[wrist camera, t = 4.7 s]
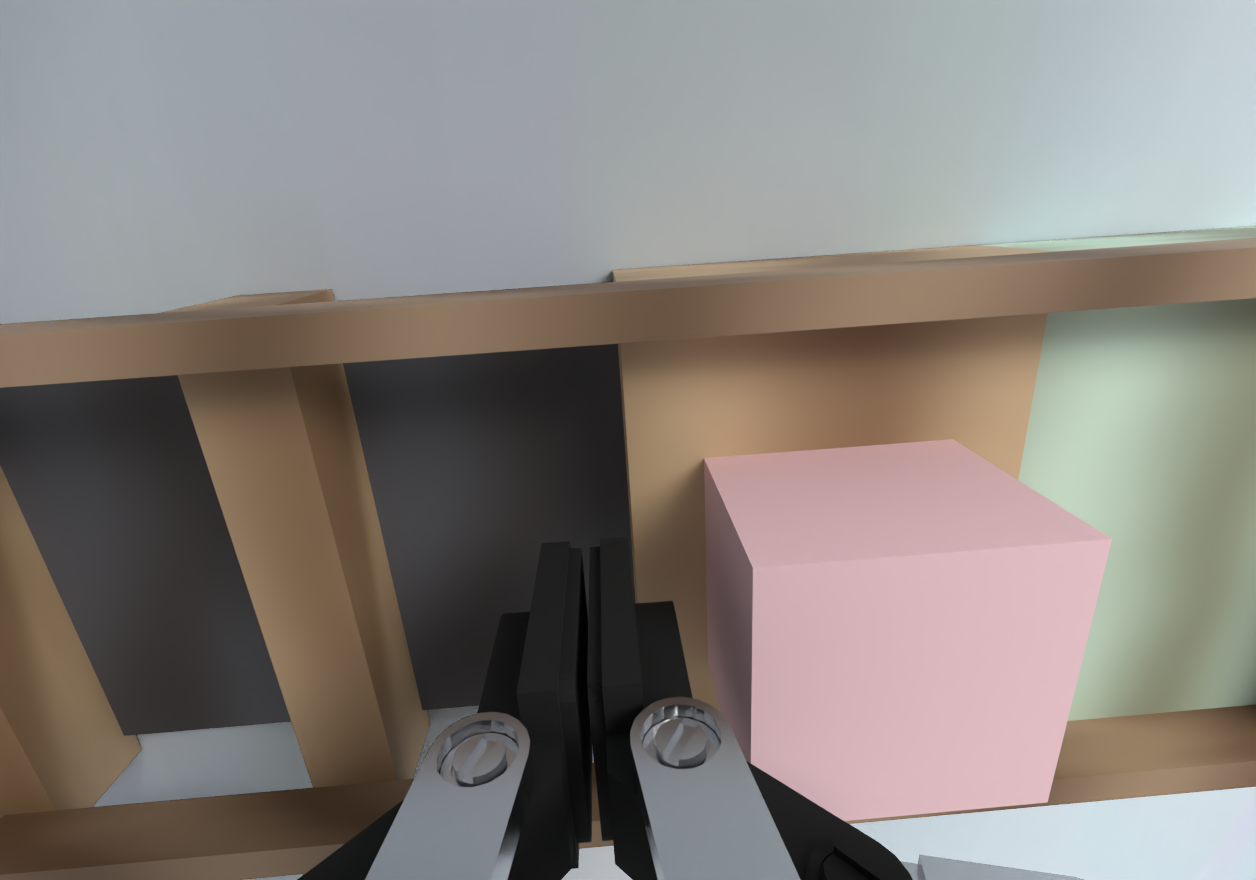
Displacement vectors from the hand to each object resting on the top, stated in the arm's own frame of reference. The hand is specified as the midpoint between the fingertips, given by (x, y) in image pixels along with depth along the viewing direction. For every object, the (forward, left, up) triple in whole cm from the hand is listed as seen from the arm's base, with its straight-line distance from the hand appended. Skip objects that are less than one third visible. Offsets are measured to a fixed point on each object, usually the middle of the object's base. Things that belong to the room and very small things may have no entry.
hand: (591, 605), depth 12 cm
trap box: (0, +1, -4) cm, 4 cm away
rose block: (0, +5, -1) cm, 5 cm away
